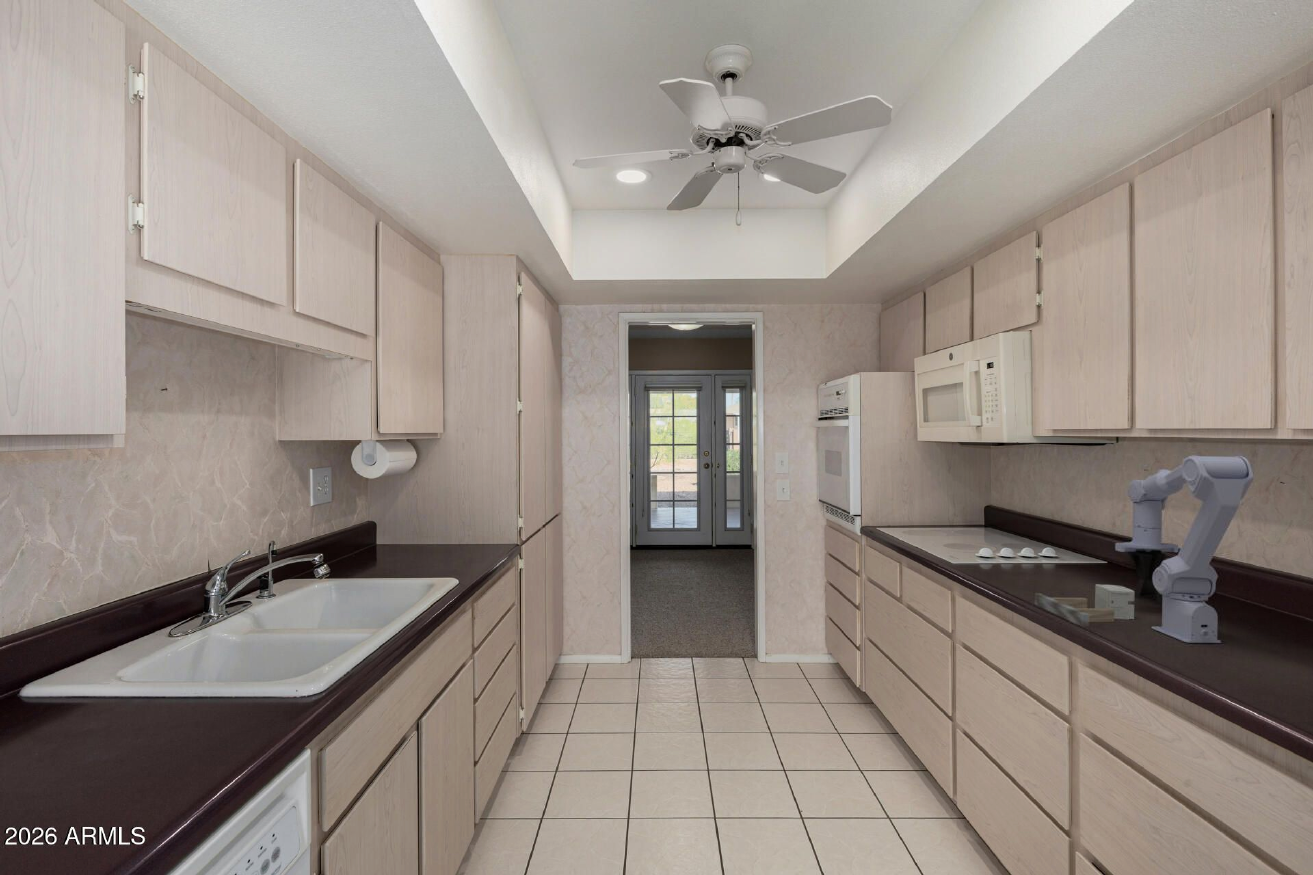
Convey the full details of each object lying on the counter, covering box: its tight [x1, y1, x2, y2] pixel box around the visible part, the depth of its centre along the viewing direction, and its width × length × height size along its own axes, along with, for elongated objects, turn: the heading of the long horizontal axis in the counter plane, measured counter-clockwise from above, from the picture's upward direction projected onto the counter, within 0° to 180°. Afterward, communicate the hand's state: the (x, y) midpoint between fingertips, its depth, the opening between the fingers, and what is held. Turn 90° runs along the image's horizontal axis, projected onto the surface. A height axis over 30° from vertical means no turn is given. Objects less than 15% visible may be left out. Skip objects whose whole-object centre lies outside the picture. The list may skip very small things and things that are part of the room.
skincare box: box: [1094, 583, 1135, 620], centre depth 149 cm, size 6×6×7 cm
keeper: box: [1034, 592, 1115, 628], centre depth 150 cm, size 18×11×3 cm, turn 179°
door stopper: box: [1133, 557, 1171, 605], centre depth 163 cm, size 9×6×12 cm, turn 9°
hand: (1145, 579), depth 149 cm, fingers closed
